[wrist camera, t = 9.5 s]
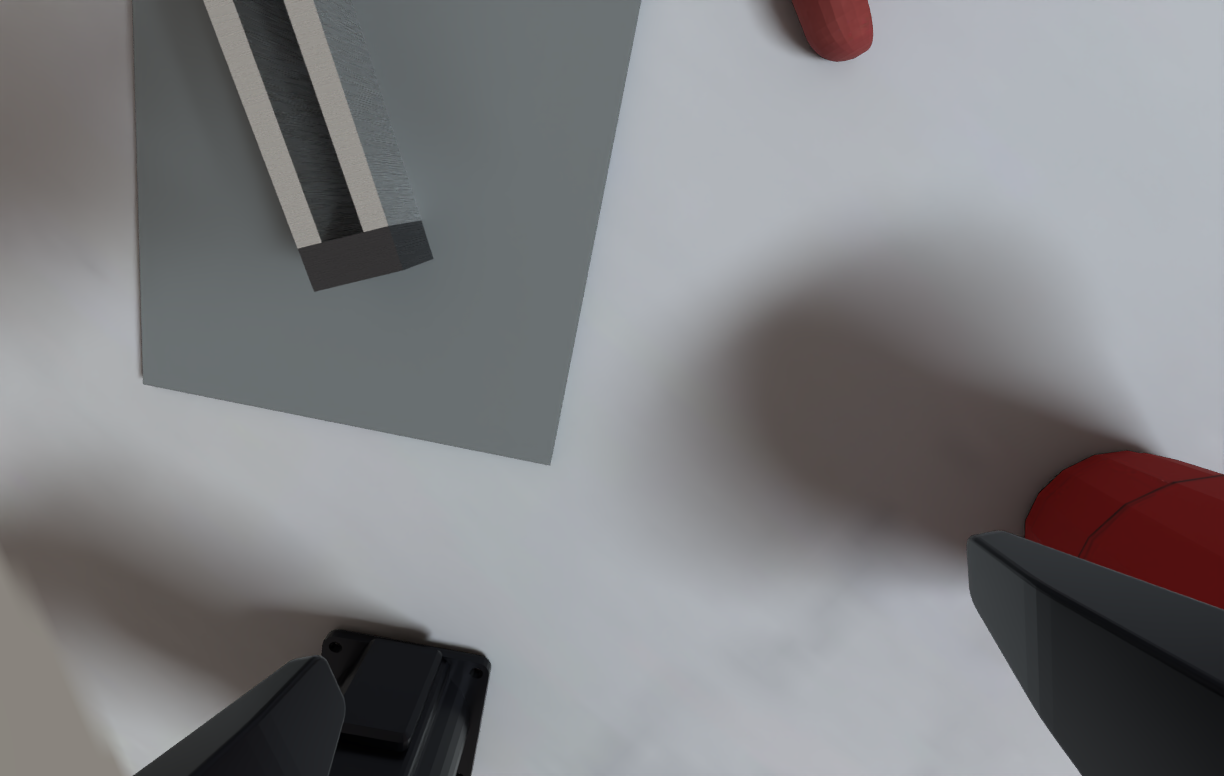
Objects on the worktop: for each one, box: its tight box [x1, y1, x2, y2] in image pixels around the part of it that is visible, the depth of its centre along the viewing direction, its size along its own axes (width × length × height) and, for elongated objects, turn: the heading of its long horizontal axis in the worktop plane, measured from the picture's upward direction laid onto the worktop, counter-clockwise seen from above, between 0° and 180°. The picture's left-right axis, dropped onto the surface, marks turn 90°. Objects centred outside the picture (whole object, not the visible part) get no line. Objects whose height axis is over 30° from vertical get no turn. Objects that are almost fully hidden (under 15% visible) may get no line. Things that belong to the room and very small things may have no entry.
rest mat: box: [132, 0, 641, 465], centre depth 19 cm, size 18×14×1 cm
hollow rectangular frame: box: [203, 0, 434, 292], centre depth 17 cm, size 3×3×11 cm
